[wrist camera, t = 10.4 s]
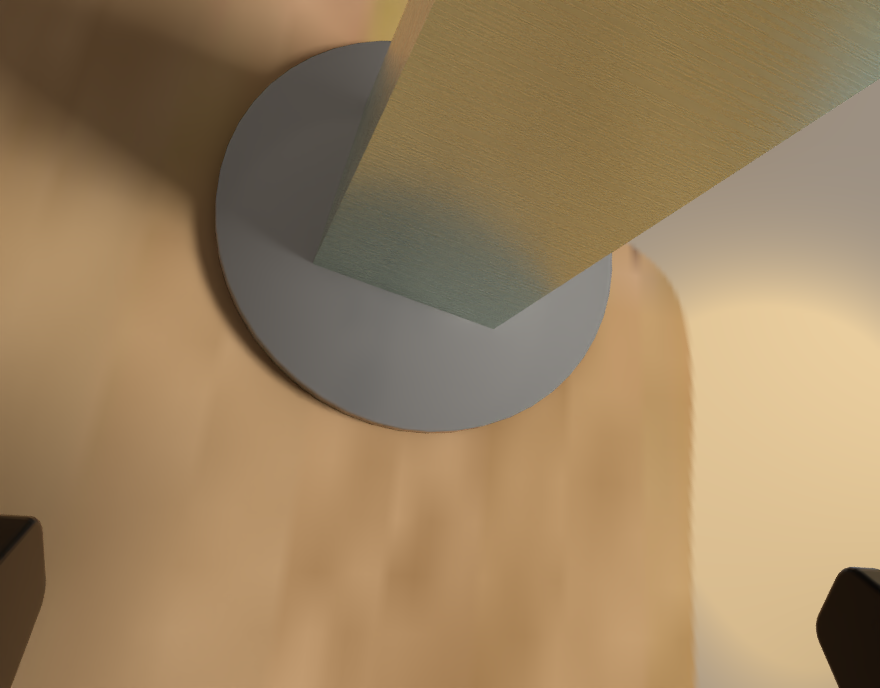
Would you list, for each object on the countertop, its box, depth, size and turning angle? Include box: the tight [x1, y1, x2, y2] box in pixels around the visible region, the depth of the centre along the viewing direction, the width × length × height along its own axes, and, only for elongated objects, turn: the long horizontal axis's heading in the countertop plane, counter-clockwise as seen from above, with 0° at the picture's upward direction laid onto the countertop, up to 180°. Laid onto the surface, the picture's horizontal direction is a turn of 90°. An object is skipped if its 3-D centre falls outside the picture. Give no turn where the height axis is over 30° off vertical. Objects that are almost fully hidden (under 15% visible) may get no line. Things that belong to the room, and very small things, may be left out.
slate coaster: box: [215, 41, 612, 433], centre depth 19 cm, size 11×11×1 cm
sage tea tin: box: [313, 0, 880, 329], centre depth 13 cm, size 5×5×14 cm
